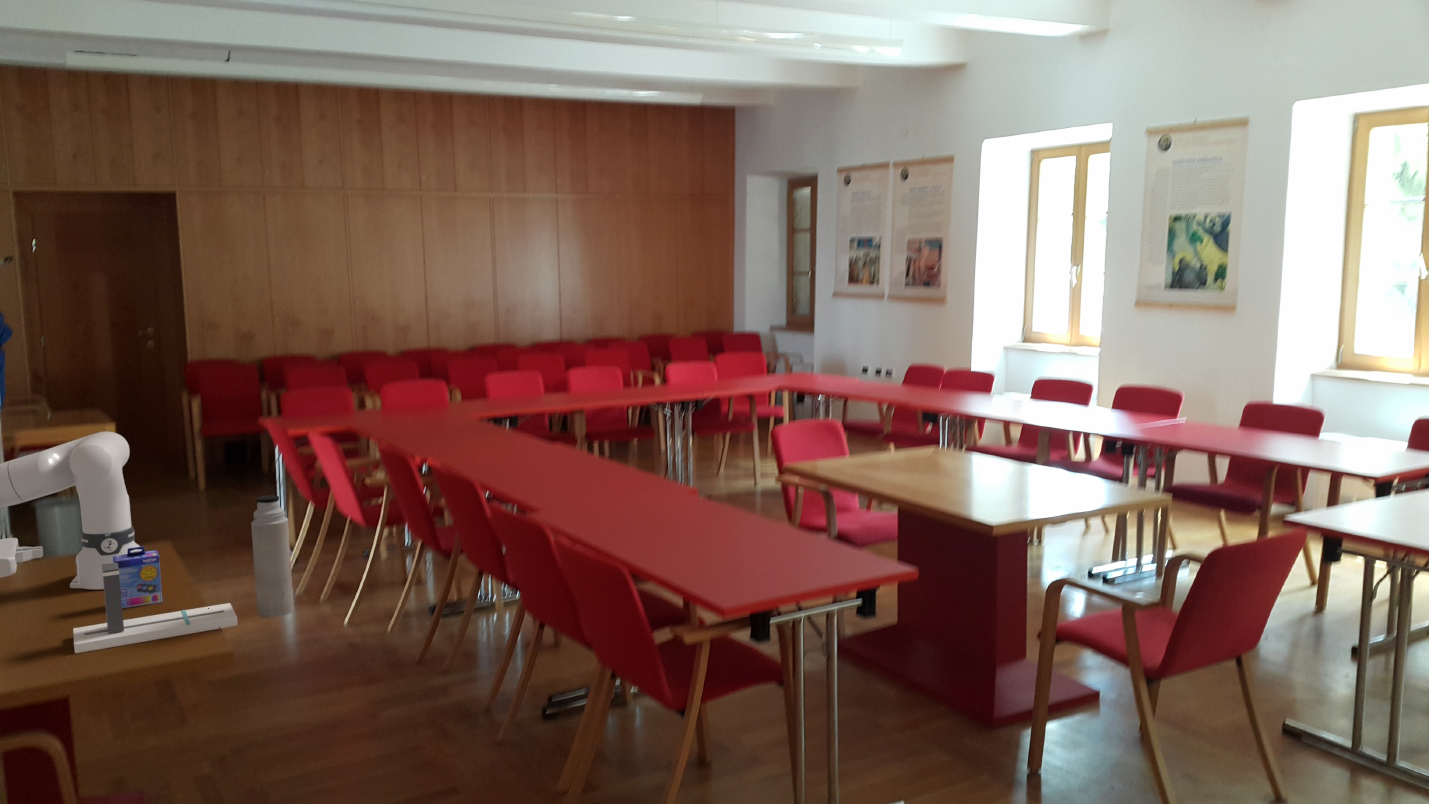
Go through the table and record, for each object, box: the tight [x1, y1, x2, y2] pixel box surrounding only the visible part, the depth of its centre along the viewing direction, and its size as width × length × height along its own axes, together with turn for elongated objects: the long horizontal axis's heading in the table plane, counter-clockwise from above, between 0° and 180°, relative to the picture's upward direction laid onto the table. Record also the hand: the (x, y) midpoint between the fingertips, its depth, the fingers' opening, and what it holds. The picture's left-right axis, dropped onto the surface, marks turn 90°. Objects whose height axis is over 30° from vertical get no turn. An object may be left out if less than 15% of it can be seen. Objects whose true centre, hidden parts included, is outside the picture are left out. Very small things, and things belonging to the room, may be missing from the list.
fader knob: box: [102, 563, 124, 633], centre depth 233 cm, size 6×3×14 cm, turn 32°
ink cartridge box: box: [113, 545, 163, 609], centre depth 258 cm, size 10×6×14 cm, turn 124°
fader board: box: [72, 602, 239, 654], centre depth 238 cm, size 12×32×2 cm, turn 122°
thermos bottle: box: [250, 494, 295, 619], centre depth 249 cm, size 8×8×28 cm
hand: (42, 551), depth 225 cm, fingers closed
